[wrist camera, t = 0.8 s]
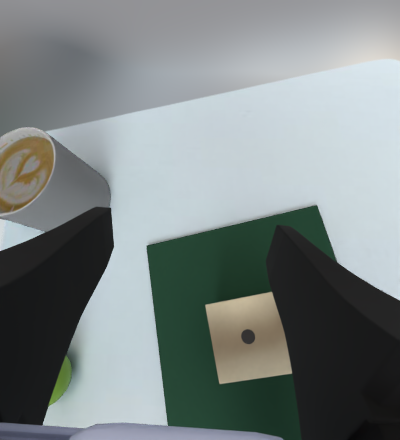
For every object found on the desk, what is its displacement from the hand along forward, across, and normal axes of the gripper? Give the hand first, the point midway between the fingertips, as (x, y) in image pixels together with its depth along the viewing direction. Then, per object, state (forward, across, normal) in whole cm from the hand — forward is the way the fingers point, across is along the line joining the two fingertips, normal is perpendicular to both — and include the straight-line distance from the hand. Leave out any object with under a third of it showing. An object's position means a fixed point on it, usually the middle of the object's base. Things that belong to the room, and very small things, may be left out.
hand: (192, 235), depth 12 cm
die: (+8, -7, +16) cm, 19 cm away
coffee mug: (+22, +17, +12) cm, 31 cm away
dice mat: (+8, -7, +16) cm, 19 cm away
